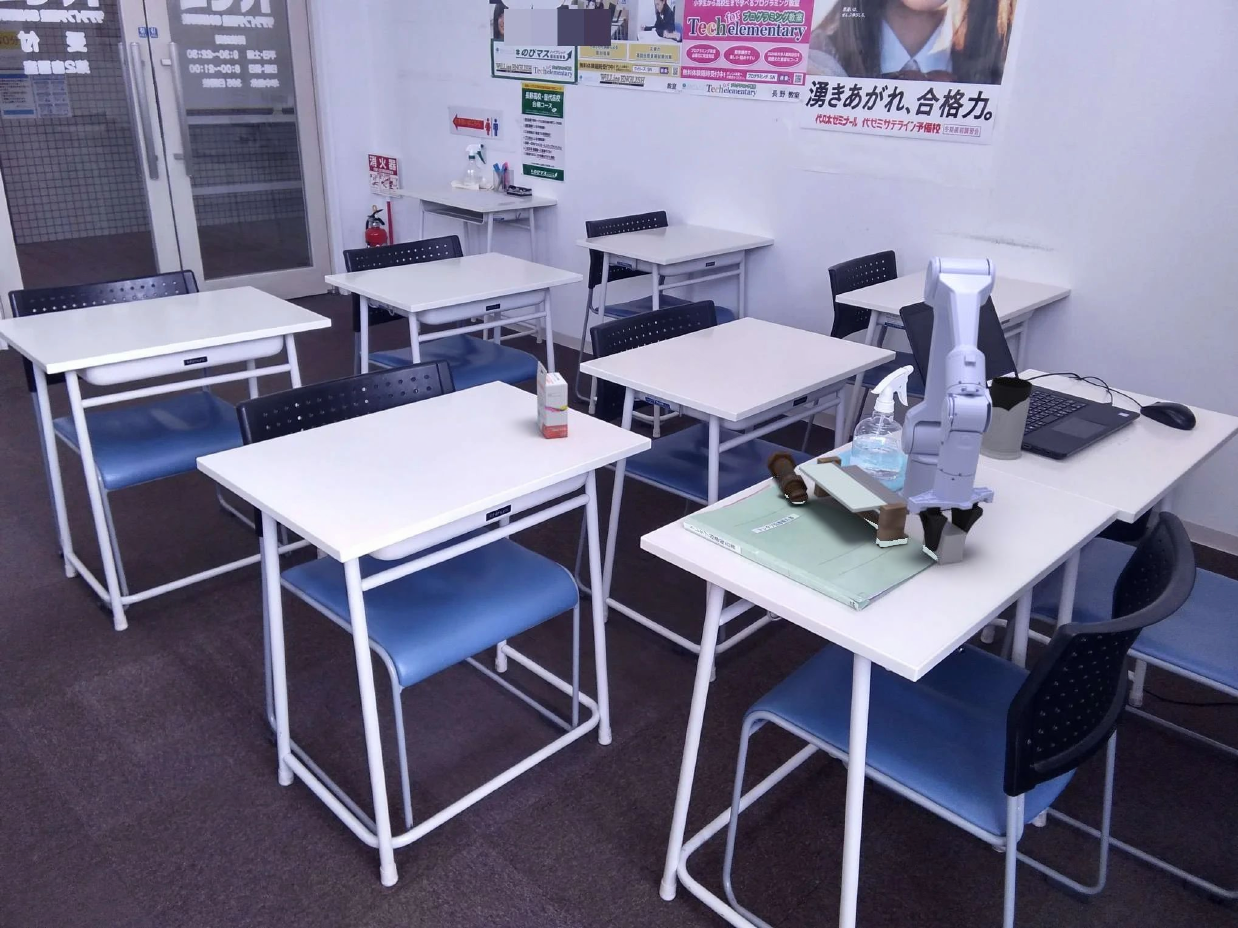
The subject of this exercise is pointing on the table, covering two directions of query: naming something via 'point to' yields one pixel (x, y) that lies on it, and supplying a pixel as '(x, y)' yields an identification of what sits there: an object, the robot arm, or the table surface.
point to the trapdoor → (852, 486)
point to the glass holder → (1007, 418)
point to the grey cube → (950, 544)
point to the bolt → (787, 475)
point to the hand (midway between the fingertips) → (942, 546)
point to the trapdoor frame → (887, 520)
